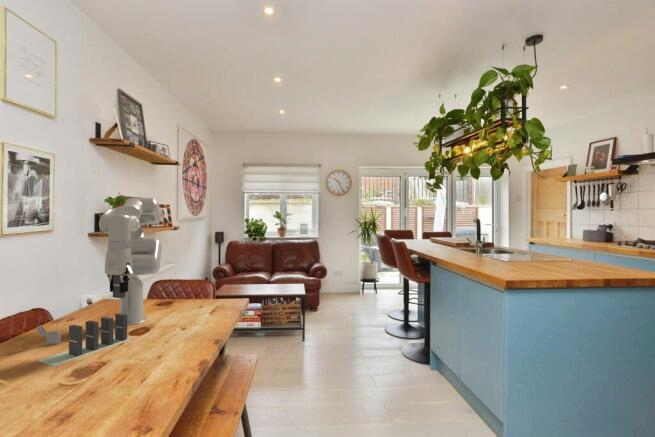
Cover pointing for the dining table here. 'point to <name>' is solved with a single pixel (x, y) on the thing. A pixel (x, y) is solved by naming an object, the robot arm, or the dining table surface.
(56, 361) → the mat
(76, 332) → the domino
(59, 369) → the dining table surface
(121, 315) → the domino
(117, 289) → the domino
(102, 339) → the domino
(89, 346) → the domino
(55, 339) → the lighter
